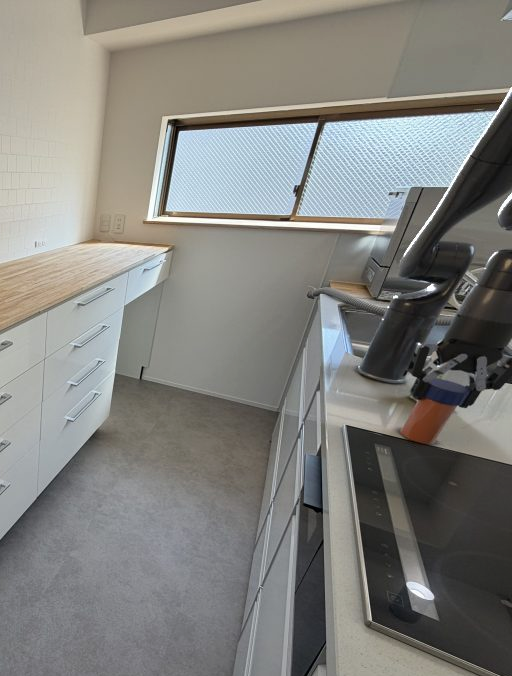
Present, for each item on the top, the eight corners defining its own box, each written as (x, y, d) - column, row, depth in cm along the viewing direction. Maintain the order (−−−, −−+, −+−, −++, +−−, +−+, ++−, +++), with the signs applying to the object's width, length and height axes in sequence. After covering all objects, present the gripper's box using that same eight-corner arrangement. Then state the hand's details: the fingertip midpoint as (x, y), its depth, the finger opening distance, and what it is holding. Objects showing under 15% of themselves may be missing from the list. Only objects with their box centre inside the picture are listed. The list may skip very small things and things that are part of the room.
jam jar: (393, 428, 83) (421, 379, 78) (421, 431, 82) (450, 382, 77) (412, 442, 78) (442, 392, 73) (441, 445, 78) (473, 395, 73)
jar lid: (410, 388, 79) (417, 376, 78) (445, 392, 78) (452, 379, 77) (435, 403, 74) (442, 391, 73) (472, 407, 73) (480, 394, 72)
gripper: (532, 315, 70) (476, 402, 77) (425, 303, 74) (382, 385, 82) (565, 328, 63) (501, 421, 71) (446, 314, 68) (397, 402, 76)
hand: (437, 401), depth 76 cm, fingers closed on jar lid, 6 cm apart
